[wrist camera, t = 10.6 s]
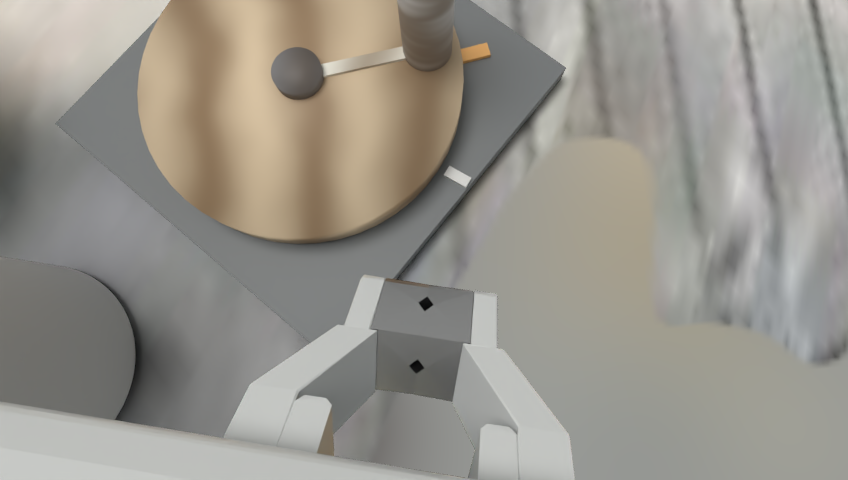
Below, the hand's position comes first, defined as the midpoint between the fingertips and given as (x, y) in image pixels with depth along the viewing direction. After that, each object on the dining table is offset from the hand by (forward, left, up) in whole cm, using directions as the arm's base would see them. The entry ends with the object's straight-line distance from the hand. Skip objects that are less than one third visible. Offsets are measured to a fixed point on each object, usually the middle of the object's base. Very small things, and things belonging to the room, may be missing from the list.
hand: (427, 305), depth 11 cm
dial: (-6, -15, -19) cm, 25 cm away
